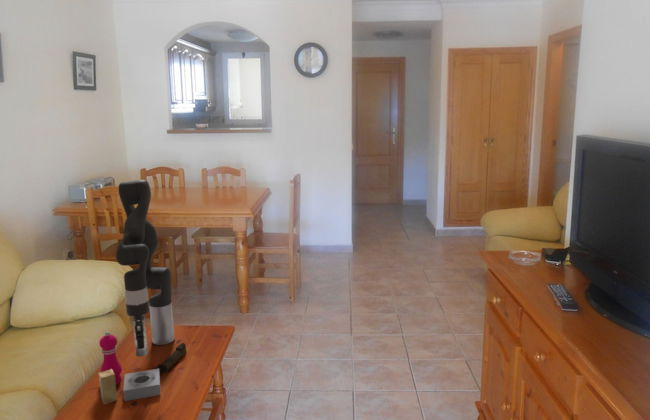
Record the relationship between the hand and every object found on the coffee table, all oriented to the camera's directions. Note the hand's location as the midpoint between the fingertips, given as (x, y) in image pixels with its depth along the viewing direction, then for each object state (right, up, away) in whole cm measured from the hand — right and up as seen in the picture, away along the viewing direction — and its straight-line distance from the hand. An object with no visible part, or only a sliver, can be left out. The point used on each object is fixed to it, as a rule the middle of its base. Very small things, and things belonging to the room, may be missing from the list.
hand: (141, 345), depth 179 cm
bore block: (-1, -17, +3) cm, 17 cm away
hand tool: (+4, -13, +23) cm, 27 cm away
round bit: (0, -3, +1) cm, 3 cm away
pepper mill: (-14, -16, +9) cm, 23 cm away
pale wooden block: (-10, -18, -3) cm, 21 cm away
